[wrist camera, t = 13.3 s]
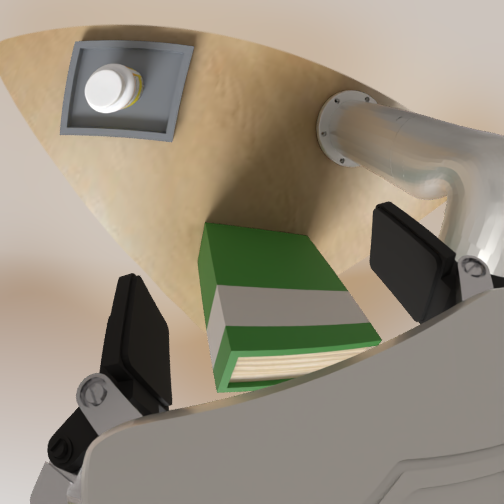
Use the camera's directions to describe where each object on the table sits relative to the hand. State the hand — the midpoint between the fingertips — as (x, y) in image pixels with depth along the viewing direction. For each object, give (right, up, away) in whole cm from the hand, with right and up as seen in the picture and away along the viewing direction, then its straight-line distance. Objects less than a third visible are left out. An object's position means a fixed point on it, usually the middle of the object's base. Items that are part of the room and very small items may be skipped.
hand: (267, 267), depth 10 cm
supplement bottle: (-17, +22, +18) cm, 33 cm away
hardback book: (0, +1, +37) cm, 37 cm away
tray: (-17, +22, +18) cm, 33 cm away
